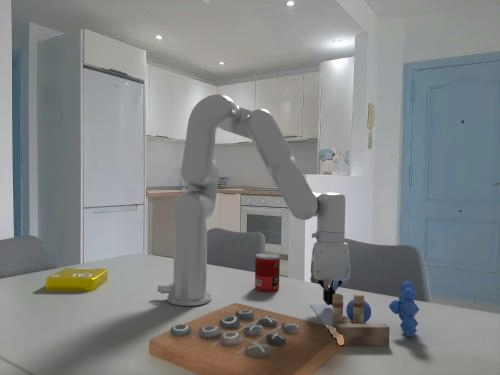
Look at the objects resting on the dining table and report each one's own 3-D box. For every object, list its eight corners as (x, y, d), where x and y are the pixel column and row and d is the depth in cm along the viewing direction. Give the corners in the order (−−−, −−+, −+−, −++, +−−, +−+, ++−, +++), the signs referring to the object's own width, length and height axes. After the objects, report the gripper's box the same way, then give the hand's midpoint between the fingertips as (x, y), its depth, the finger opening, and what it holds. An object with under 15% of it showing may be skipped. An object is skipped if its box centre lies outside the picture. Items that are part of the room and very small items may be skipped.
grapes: (386, 322, 96) (387, 275, 96) (415, 326, 94) (416, 277, 94) (389, 340, 85) (390, 286, 85) (422, 344, 83) (424, 289, 83)
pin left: (333, 333, 88) (334, 296, 88) (330, 329, 91) (331, 293, 91) (343, 333, 88) (344, 296, 88) (340, 329, 91) (341, 293, 91)
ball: (368, 297, 93) (347, 291, 97) (359, 319, 90) (338, 313, 95) (378, 308, 96) (357, 302, 100) (370, 330, 93) (349, 324, 98)
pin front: (338, 326, 93) (349, 340, 84) (338, 316, 93) (349, 329, 84) (348, 326, 93) (360, 340, 84) (348, 316, 93) (360, 329, 84)
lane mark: (334, 339, 85) (334, 338, 85) (310, 304, 109) (310, 304, 109) (373, 339, 85) (373, 338, 85) (341, 304, 109) (341, 304, 109)
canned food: (277, 293, 120) (278, 258, 120) (252, 291, 122) (253, 256, 122) (280, 286, 128) (281, 253, 127) (257, 284, 129) (257, 252, 129)
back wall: (338, 345, 81) (339, 327, 81) (336, 342, 83) (336, 323, 83) (389, 345, 82) (389, 327, 82) (385, 341, 84) (385, 323, 84)
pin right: (354, 333, 89) (355, 296, 88) (351, 329, 91) (352, 293, 91) (365, 333, 89) (366, 296, 89) (361, 329, 91) (362, 293, 91)
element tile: (109, 280, 132) (109, 267, 132) (93, 293, 117) (93, 277, 117) (65, 280, 132) (65, 266, 131) (43, 292, 117) (43, 277, 116)
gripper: (306, 239, 101) (305, 308, 101) (361, 239, 102) (360, 308, 102) (301, 235, 109) (299, 299, 109) (352, 235, 110) (350, 299, 110)
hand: (329, 303), depth 106 cm, fingers closed
